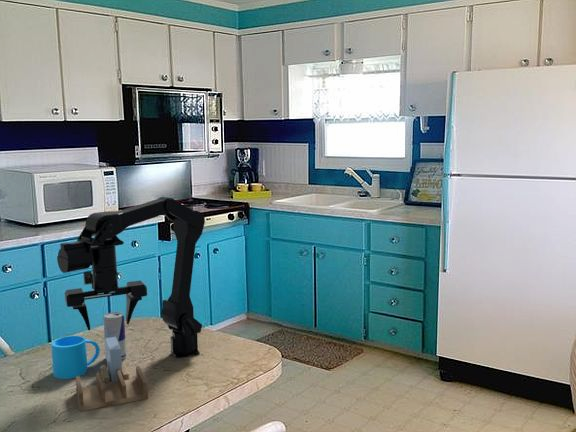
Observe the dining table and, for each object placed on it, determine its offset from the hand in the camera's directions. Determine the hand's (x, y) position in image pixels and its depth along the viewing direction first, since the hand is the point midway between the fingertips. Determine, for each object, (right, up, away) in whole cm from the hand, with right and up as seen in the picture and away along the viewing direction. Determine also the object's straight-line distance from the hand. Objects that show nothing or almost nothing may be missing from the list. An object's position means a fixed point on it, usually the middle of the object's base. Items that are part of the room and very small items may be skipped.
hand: (108, 326), depth 146 cm
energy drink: (-2, -11, +14) cm, 18 cm away
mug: (-10, -12, +6) cm, 17 cm away
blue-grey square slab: (+1, -13, +1) cm, 13 cm away
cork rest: (+1, -13, +1) cm, 13 cm away
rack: (+3, -14, -9) cm, 17 cm away
